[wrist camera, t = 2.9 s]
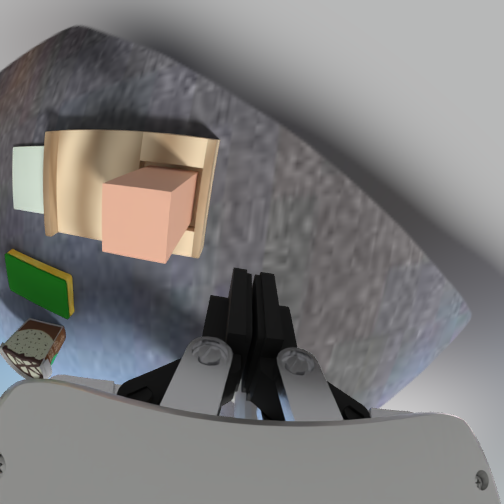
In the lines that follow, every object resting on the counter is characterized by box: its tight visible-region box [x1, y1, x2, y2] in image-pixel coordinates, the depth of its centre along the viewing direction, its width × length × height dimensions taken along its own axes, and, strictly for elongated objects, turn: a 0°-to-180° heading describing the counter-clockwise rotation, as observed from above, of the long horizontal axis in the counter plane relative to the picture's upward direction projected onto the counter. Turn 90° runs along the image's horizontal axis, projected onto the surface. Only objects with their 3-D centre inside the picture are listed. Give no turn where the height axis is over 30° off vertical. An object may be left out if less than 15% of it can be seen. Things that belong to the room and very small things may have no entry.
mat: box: [12, 146, 44, 214], centre depth 26 cm, size 9×9×1 cm
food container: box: [0, 318, 66, 379], centre depth 33 cm, size 12×6×10 cm, turn 88°
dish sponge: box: [5, 249, 74, 319], centre depth 32 cm, size 7×14×2 cm, turn 72°
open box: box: [43, 129, 220, 258], centre depth 26 cm, size 19×12×4 cm, turn 79°
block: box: [102, 165, 199, 264], centre depth 22 cm, size 5×5×10 cm
